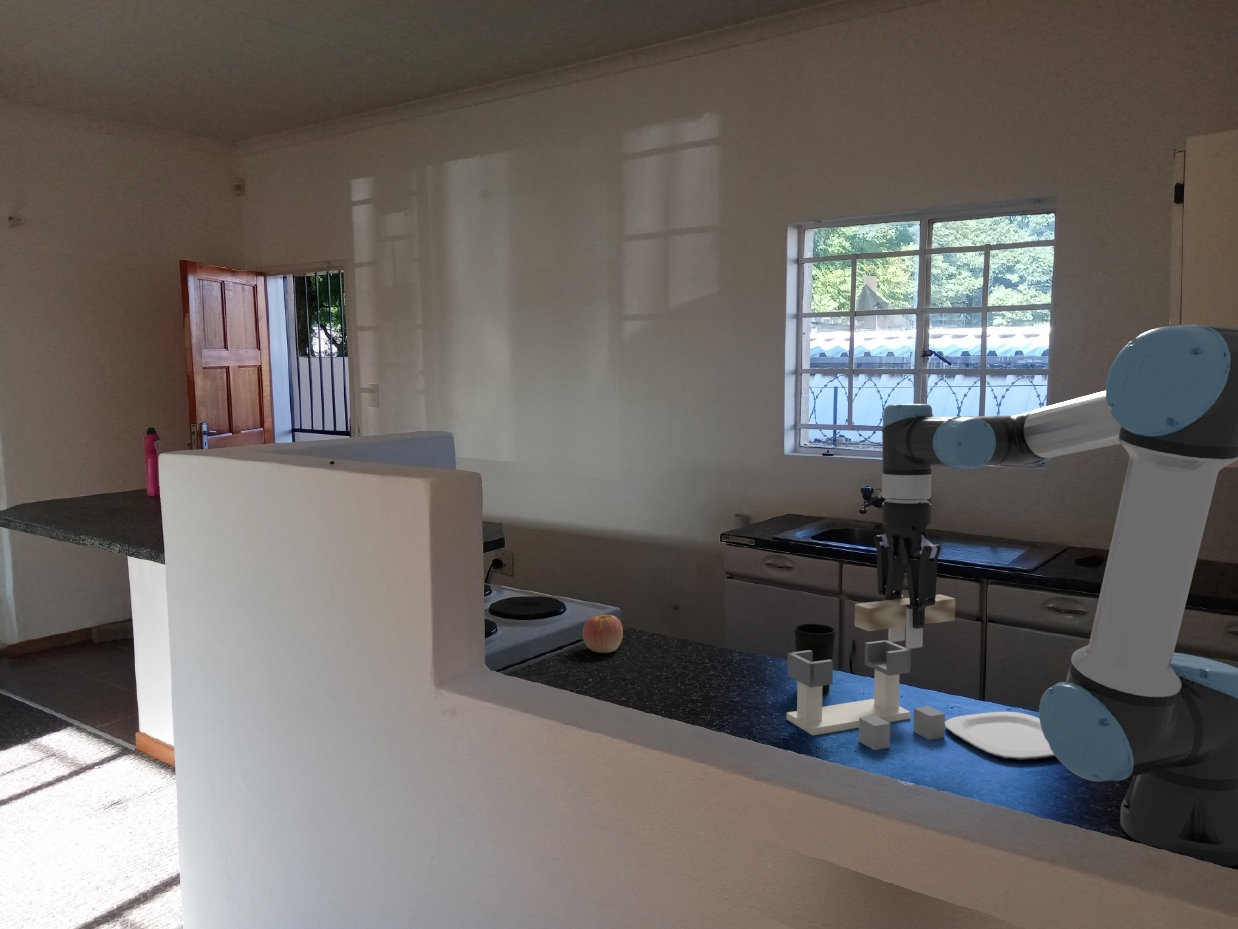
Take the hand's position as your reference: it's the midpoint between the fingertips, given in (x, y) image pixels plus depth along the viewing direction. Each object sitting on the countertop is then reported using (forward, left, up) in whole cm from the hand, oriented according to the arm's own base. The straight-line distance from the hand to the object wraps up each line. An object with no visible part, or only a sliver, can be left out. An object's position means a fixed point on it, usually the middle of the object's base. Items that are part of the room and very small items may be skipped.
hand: (905, 643), depth 146 cm
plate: (-7, -17, -17) cm, 24 cm away
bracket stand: (+11, +2, -16) cm, 20 cm away
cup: (+26, -1, -16) cm, 31 cm away
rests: (0, 0, -16) cm, 16 cm away
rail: (0, 0, +3) cm, 3 cm away
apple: (+66, +27, -16) cm, 74 cm away
